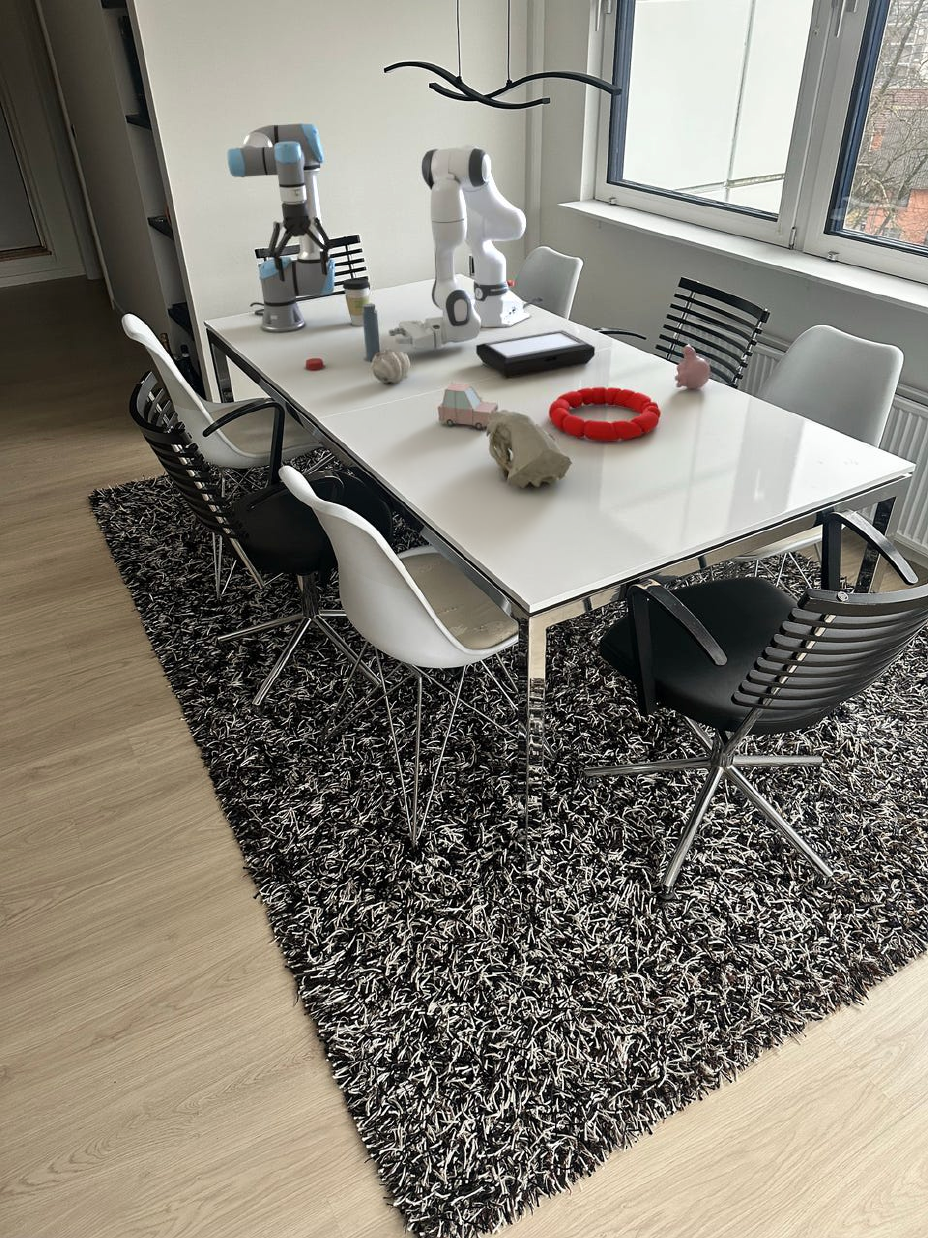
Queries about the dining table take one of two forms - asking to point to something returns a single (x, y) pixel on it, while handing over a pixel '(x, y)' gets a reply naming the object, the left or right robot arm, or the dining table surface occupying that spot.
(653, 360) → the dining table surface
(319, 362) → the lid
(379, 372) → the seashell
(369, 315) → the jar
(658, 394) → the dining table surface
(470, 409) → the toy car
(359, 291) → the coffee cup
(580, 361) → the electronic device
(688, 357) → the figurine
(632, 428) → the decorative ring
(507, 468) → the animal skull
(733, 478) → the dining table surface
